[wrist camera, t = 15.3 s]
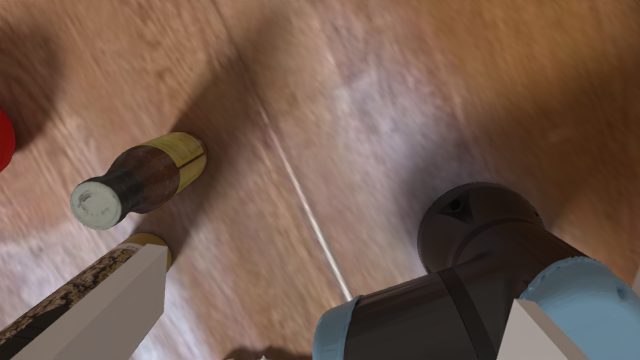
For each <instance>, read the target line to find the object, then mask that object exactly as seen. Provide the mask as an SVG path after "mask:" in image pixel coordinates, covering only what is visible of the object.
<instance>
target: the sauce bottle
mask: <svg viewBox="0 0 640 360" xmlns="http://www.w3.org/2000/svg"><path fill="white" fill-rule="evenodd" d="M206 163H207V150H206V148H205V146H204V144H203V143H202V141H201V140H199V139H198V138H197V137H196V136H195V135H193V134H191V133H186V132H173V133H169V134H166V135H163V136H161V137H158V138H156V139H153V140H150V141H148V142H145V143H142V144H140V145H137V146H135V147H132V148H130V149H128V150H126V151H125V152H123V153H122V154H121V155H119V156H118V157H117V158H116V160H115V161H114V162H113V164H112V165H111V167H110V168H109V170H108V171H107V173H106V174H105V175H103V176H99V177H94V178H90V179H88V180H86V181H84V182H82V183H81V184H79V185H78V186H77V187H76V188H75V189H74V191H73V193H72V195H71V200H70V205H71V210H72V213H73V215H74V216H75V218H76V219H77V220H78V221H79V222H81V223H82V224H83V225H85V226H87V227H89V228H91V229H95V230H105V229H109V228H111V227H113V226H115V225H116V224H118V223H119V222H121V221H122V220H123V219H124V218H125V217H126V215H127V214H128V213H129V212H135V213H139V214H144V213H148V212H150V211H152V210H154V209H156V208H158V207H160V206H161V205H162V204H163V203H164V202H166V201H168V200H170V199H171V198H172V197H173V196H175V195H176V194H177V193H178V192H180V191H181V190H182V189H183V188H185V187H186V186H187V185H188V184H190V183H191V182H192V181H194V180H195V179H196V178H197V177H198V176H199V175H200V174H201V173H202V171H203V170H204V169H205V167H206Z"/></svg>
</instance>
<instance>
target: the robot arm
mask: <svg viewBox="0 0 640 360" xmlns="http://www.w3.org/2000/svg"><path fill="white" fill-rule="evenodd" d="M417 247H418V253H419V257H420V260H421V262H422V264H423V266H424V268H425V270H426V272H427V275H424V276H422V277H419V278H416V279H413V280H410V281H407V282H404V283H401V284H398V285H395V286H392V287H389V288H386V289H383V290H380V291H377V292H374V293H371V294H368V295H365V296H364V295H359V296H357V297H355V298H354V299H353V300H351V301H349V302H346V303H344V304H342V305H339V306H337V307H334V308H331V309H330V310H328V311H326V312H325V313H324V314H323V315H322V317H321V318H320V320H319V322H318V324H317V327H316V331H315V334H314V340H313V360H640V297H639V296H638V294H637V293H636V292H635V291H634V290H633V289H632V288H631V287H629V286H628V285H627V284H626V283H625V282H623V281H622V280H621V279H620V278H618V277H617V276H616V275H615V274H613V273H612V272H611V270H610V269H609V268H608V267H606V265H604V264H602V263H601V262H599V261H596V260H595V259H592V258H590V257H588V256H587V255H585V254H584V253H582V252H580V251H579V250H577V249H576V248H574V247H572V246H571V245H569V244H568V243H566V242H565V241H563V240H561V239H560V238H558V237H557V236H555V235H553V234H552V233H550V232H549V231H547V230H545V228H544V225H543V222H542V220H541V218H540V216H539V214H538V212H537V211H536V210H535V208H534V207H533V206H532V205H531V204H530V203H529V202H528V201H527V200H526V199H525V198H524V197H522V196H521V195H519V194H517V193H516V192H514V191H512V190H510V189H508V188H506V187H504V186H501V185H498V184H493V183H485V182H478V183H470V184H465V185H462V186H459V187H456V188H454V189H452V190H450V191H448V192H447V193H445V194H444V195H442V196H441V197H440V198H438V199H437V200H436V201H435V202H434V203H433V204H432V205H431V207H430V208H429V209H428V211H427V212H426V214H425V215H424V217H423V219H422V222H421V224H420V227H419V231H418V237H417ZM167 252H168V247H167V246H160V245H153V244H146V245H145V246H144V247H143V248H142V249H141V250H139V251H138V252H137V253H136V254H135V255H133V256H132V257H131V258H130V259H129V260H127V261H126V262H125V263H124V264H123V265H122V266H120V267H119V268H118V269H117V270H116V271H114V272H113V273H112V274H111V275H110V276H109V277H107V278H106V279H105V280H104V281H103V282H101V283H100V284H99V285H98V286H97V287H96V288H94V289H93V290H92V291H91V292H90V293H88V294H87V295H86V296H85V297H84V298H82V299H81V300H80V301H79V302H78V303H77V304H75V305H74V306H73V307H65V306H57V307H55V308H53V309H51V310H49V311H46V312H44V313H42V314H40V315H38V316H37V317H36V318H34V319H33V320H32V321H31V322H29V323H28V324H27V325H25V328H22V329H20V330H19V331H18V332H16V333H15V334H14V335H13V337H12V338H9V339H7V340H6V341H5V342H4V343H2V344H1V345H0V360H128V359H129V358H130V356H131V355H132V354H133V352H134V351H135V350H136V348H137V347H138V346H139V344H140V343H141V342H142V340H143V339H144V338H145V336H146V335H147V334H148V332H149V331H150V330H151V328H152V327H153V326H154V324H155V323H156V322H157V320H158V319H159V318H160V316H161V315H162V314H163V312H164V297H165V282H166V267H167Z"/></svg>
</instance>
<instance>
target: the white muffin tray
mask: <svg viewBox="0 0 640 360" xmlns="http://www.w3.org/2000/svg"><path fill="white" fill-rule="evenodd" d="M227 360H235V359H233V358H232V359H227ZM257 360H269V359H266V358H265V357H264V355H263V357H262V358H261V359H257Z"/></svg>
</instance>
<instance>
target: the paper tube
mask: <svg viewBox="0 0 640 360" xmlns="http://www.w3.org/2000/svg"><path fill="white" fill-rule="evenodd" d="M146 244H153V245H160V246H167V245H166V243H165V242H164V241H163V240H162V239H160V238H159V237H157V236H155V235H153V234H149V233H138V234H135V235H132V236H130V237H129V238H127V239H126V240H125V241H123V242H122V243H120V244H119V245H118V246H116V247H115V248H113V249H112V250H111V251H109V252H108V253H107V254H105V255H104V256H102V257H101V258H100V259H98V260H97V261H96V262H94V263H93V264H92V265H90V266H89V267H87V268H86V269H85V270H83V271H82V272H81V273H79V274H78V275H77V276H75V277H74V278H72V279H71V280H70V281H68V282H67V283H66V284H64V285H63V286H62V287H60V288H59V289H57V290H56V291H55V292H53V293H52V294H51V295H49V296H48V297H47V298H45V299H44V300H43V301H41V302H40V303H38V304H37V305H36V306H34V307H33V308H32V309H30V310H29V311H28V312H26V313H25V314H23V315H22V316H21V317H19V318H18V319H17V320H15V321H14V322H13V323H11V324H10V325H8V326H7V327H6V328H4V329H3V330H2V331H0V345H1V344H2V343H4V342H5V341H6V340H7V339H9V338H12V337H13V335H14V334H15V333H16V332H18V331H19V330H20V329H22V328H25V325H27V324H28V323H29V322H31V321H32V320H33V319H34V318H36V317H37V316H38V315H40V314H42V313H44V312H46V311H49V310H51V309H53V308H55V307H57V306H65V307H73V306H74V305H75V304H77V303H78V302H79V301H80V300H81V299H82V298H84V297H85V296H86V295H87V294H88V293H90V292H91V291H92V290H93V289H94V288H96V287H97V286H98V285H99V284H100V283H101V282H103V281H104V280H105V279H106V278H107V277H109V276H110V275H111V274H112V273H113V272H114V271H116V270H117V269H118V268H119V267H120V266H122V265H123V264H124V263H125V262H126V261H127V260H129V259H130V258H131V257H132V256H133V255H135V254H136V253H137V252H138V251H139V250H141V249H142V248H143V247H144V246H145V245H146ZM167 247H168V246H167ZM171 260H172V258H171V252H170V250H169V248H168V252H167V267H166V273H167V272H168V270H169V268H170V266H171Z"/></svg>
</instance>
